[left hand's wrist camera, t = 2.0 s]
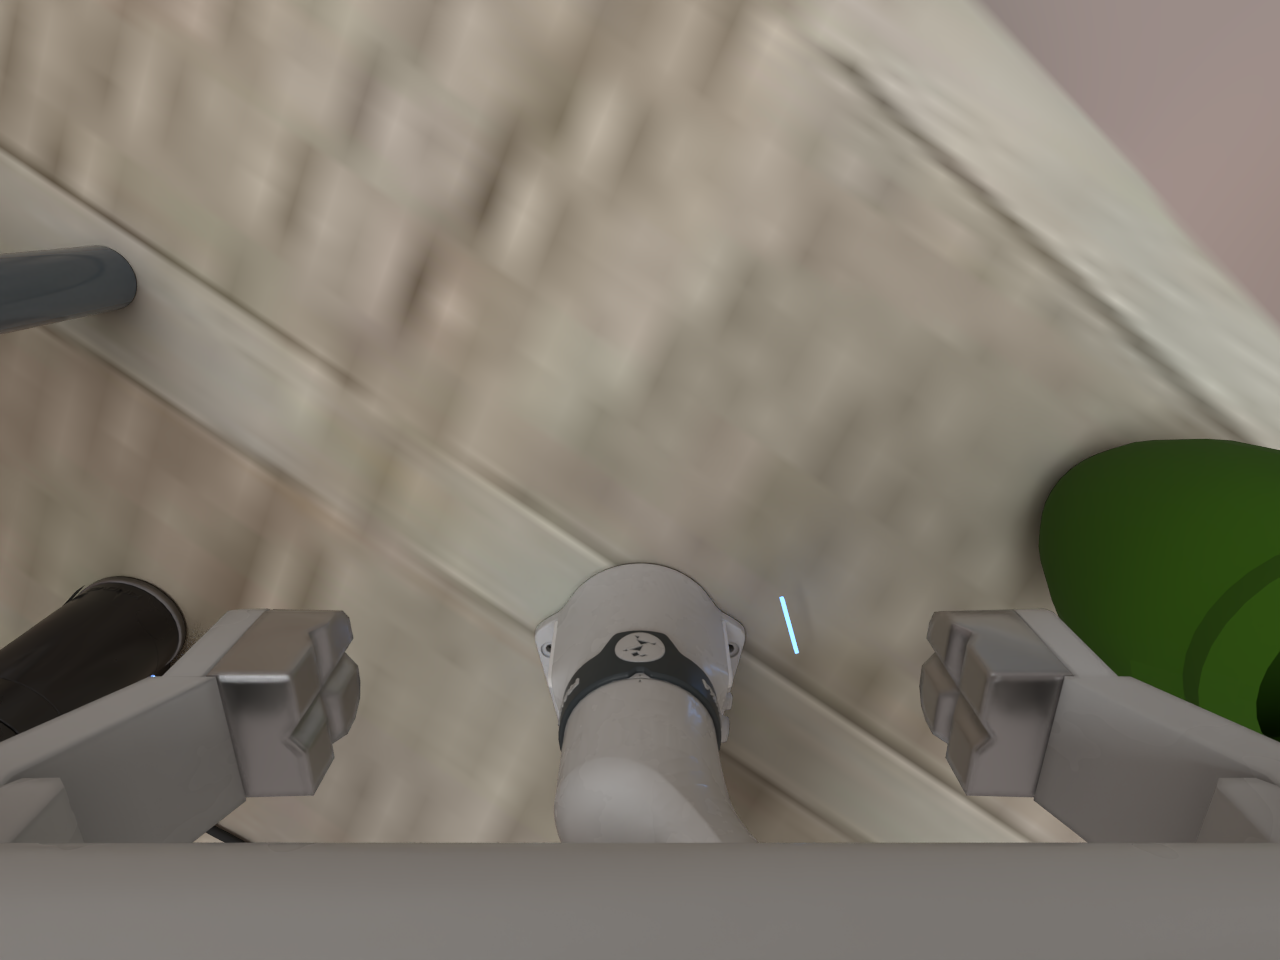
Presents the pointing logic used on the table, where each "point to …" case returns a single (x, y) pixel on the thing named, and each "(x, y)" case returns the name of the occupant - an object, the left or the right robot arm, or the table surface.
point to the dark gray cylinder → (61, 285)
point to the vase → (1175, 570)
